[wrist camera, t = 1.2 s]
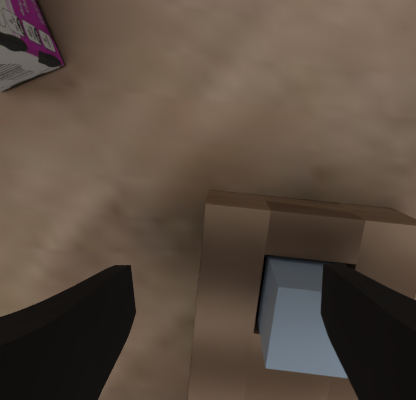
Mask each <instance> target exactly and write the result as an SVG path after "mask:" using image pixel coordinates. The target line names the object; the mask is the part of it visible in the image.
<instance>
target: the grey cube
mask: <svg viewBox="0 0 416 400" xmlns="http://www.w3.org/2000/svg"><path fill="white" fill-rule="evenodd" d="M323 264H343V265H346V264H345V263H339V262H330V261H321V260H311V259H302V258H293V257H284V256H275V255H267V256H266V263H265V270H264V277H263V284H262V291H261V298H260V305H259V312H258V318H257V320H258V326H259V332H260V338H261V344H262V351H263V357H264V363H265V368H267V369H276V370H284V371H292V372H300V373H308V374H316V375H325V376H333V377H341V378H348V377H347V375H346V373H345V371H344V369H343V367H342V365H341V363H340V361H339V359H338V357H337V355H336V352H335V350H334V348H333V346H332V344H331V342H330V340H329V338H328V335H327V332H326V329H325V326H324V323H323V320H322V316H321V295H322V276H323ZM346 266H347V265H346Z"/></svg>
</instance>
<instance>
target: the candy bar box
mask: <svg viewBox="0 0 416 400" xmlns="http://www.w3.org/2000/svg"><path fill="white" fill-rule="evenodd" d="M62 66H64V63H63V61H62V58H61V56H60V54H59V51H58V49H57V47H56V45H55V42H54V40H53V38H52V35H51V33H50V31H49V28H48V26H47V23H46V21H45V19H44V17H43V15H42V12H41V10H40V8H39V5H38V3H37V1H36V0H0V92H2V91H5V90H8V89H10V88H12V87H15V86H17V85H19V84H21V83H23V82H25V81H28V80H30V79H33V78H36V77H38V76H40V75H43V74H46V73H49V72H51V71H54V70H55V69H58V68H60V67H62Z"/></svg>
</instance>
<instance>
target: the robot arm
mask: <svg viewBox="0 0 416 400" xmlns="http://www.w3.org/2000/svg"><path fill="white" fill-rule="evenodd" d="M135 314H136V308H135V299H134V290H133V281H132V272H131V265H115V266H112V267H109V268H107V269H105V270H103V271H101V272H99V273H97V274H95V275H94V276H92V277H90V278H88V279H86V280H84V281H82V282H80V283H79V284H77V285H75V286H73V287H71V288H69V289H67V290H65V291H63V292H61V293H59V294H57V295H55V296H52V297H50V298H48V299H46V300H44V301H42V302H39V303H37V304H35V305H32V306H30V307H27V308H25V309H22V310H20V311H17V312H14V313H11V314H8V315H5V316H2V317H0V400H98V398H99V396H100V394H101V391H102V389H103V387H104V385H105V383H106V381H107V379H108V377H109V375H110V373H111V371H112V369H113V367H114V365H115V363H116V361H117V359H118V357H119V355H120V353H121V351H122V348H123V346H124V344H125V342H126V340H127V338H128V336H129V333H130V330H131V327H132V324H133V321H134V317H135ZM321 316H322V320H323V323H324V326H325V329H326V332H327V335H328V338H329V340H330V342H331V344H332V346H333V348H334V350H335V352H336V355H337V357H338V359H339V361H340V363H341V365H342V367H343V369H344V371H345V373H346V375H347V377H348V379H349V381H350V383H351V385H352V387H353V389H354V391H355V393H356V395H357V397H358V400H416V300H414V299H412V298H410V297H407V296H405V295H403V294H401V293H399V292H397V291H395V290H393V289H390V288H388V287H386V286H385V285H383V284H381V283H379V282H377V281H375V280H373V279H371V278H369V277H367V276H365V275H363V274H362V273H360V272H358V271H356V270H354V269H352V268H350V267H348V266H346V265H343V264H323V276H322V295H321Z"/></svg>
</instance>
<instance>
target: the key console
mask: <svg viewBox="0 0 416 400" xmlns="http://www.w3.org/2000/svg"><path fill="white" fill-rule="evenodd" d="M264 255H275V256H284V257H293V258H302V259H311V260H321V261H330V262H339V263H345V264H346V265H347V266H348V267H350V268H352V269H354V270H356V271H358V272H360V273H362V274H363V275H365V276H367V277H369V278H371V279H373V280H375V281H377V282H379V283H381V284H383V285H385V286H386V287H388V288H390V289H393V290H395V291H397V292H399V293H401V294H403V295H405V296H407V297H410V298H412V299H414V298H415V294H416V219H414V218H412V217H409V216H407V215H405V214H403V213H401V212H399V211H396V210H394V209H390V208H380V207H370V206H360V205H350V204H340V203H331V202H321V201H311V200H301V199H291V198H282V197H272V196H262V195H252V194H242V193H233V192H223V191H213V190H210V191H209V194H208V198H207V201H206V206H205V217H204V227H203V238H202V249H201V260H200V270H199V281H198V292H197V303H196V313H195V324H194V335H193V346H192V356H191V367H190V378H189V388H188V399H187V400H358V397H357V395H356V393H355V391H354V389H353V387H352V385H351V383H350V381H349V379H348V378H341V377H333V376H325V375H316V374H308V373H300V372H292V371H284V370H276V369H267V368H265V363H264V357H263V351H262V344H261V338H260V332H259V326H258V320H257V318H258V312H259V305H260V299H258V297H259V290H260V283H261V276H262V269H263V262H264Z"/></svg>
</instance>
